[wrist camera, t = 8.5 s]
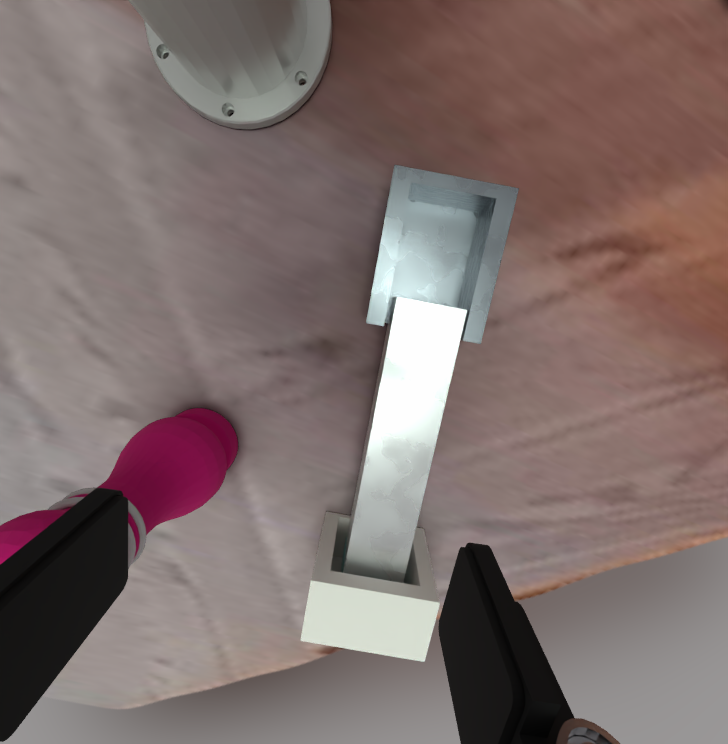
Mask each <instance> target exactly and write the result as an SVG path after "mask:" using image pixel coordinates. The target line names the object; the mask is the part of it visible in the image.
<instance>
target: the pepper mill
mask: <svg viewBox="0 0 728 744" xmlns="http://www.w3.org/2000/svg"><path fill="white" fill-rule="evenodd" d="M237 451H238V441H237V436H236V433H235V431H234V429H233V427H232V426H231V424H230V423H229V422H228V421H227V420H226V419H225V418H224V417H223V416H221V415H220V414H218V413H216V412H214V411H212V410H208V409H203V408H194V409H189V410H186V411H183V412H182V413H180V414H178V415H176V416H175V417H169V418H164V419H160V420H157V421H155V422H152V423H150V424H149V425H147V426H146V427H145V428H143V429H142V430H141V431H139V432H138V433H137V434H136V435H135V436H134V437H132V438H131V440H130V441H129V442H128V444H127V445H126V446H125V448H124V449H123V451H122V452H121V454H120V456H119V458H118V460H117V463H116V465H115V467H114V469H113V471H112V473H111V475H110V476H109V478H108V479H107V481H105V482H104V483H103V484H102V485H100V486H99V487H97V488H107V489H114V490H120V491H122V493H123V496H124V497H127V499H128V569H129V567H130V565H131V564H133V563H134V562H135V561H136V560H137V559H138V558H139V556H140V555H141V553H142V551H143V549H144V547H145V543H146V535H147V534H148V533H149V532H150V531H151V530H152V529H153V528H154V527H155V526H156V525H158V524H160V523H162V522H165V521H168V520H171V519H174V518H178V517H181V516H184V515H186V514H188V513H190V512H192V511H194V510H196V509H197V508H199V507H201V506H203V505H204V504H205V503H206V502H207V501H208V500H209V499H210V498H211V497H212V496H213V495H214V494H215V493H216V492H217V491H218V490H219V488H220V487H221V485H222V483H223V480H224V478H225V474H226V470H227V469H228V468H229V467H230V466H231V464H232V463H233V461H234V460H235V457H236V455H237ZM94 489H96V488H86V489H81V490H78V491H75V492H73V493H71V494H69V495H68V496H66V497H65V498H64V499H63V500H61V501H59V502H57V503H55V504H54V505H52V506H51V507H50V508H49V509H48V510H42V511H35V512H32V513H28V514H25V515H21V516H19V517H17V518H15V519H12V520H10V521H8V522H6V523H4V524H3V525H1V526H0V564H2V563H3V562H4V561H5V560H7V559H8V558H9V557H10V556H12V555H13V554H14V553H15V552H17V551H18V550H19V549H20V548H22V547H23V546H24V545H25V544H27V543H28V542H29V541H30V540H32V539H33V538H34V537H35V536H37V535H38V534H39V533H40V532H42V531H43V530H44V529H45V528H47V527H48V526H49V525H50V524H52V523H53V522H54V521H55V520H57V519H58V518H59V517H60V516H62V515H63V514H64V513H65V512H67V511H68V510H69V509H70V508H72V507H73V506H74V505H75V504H77V503H78V502H79V501H80V500H82V499H83V498H84V497H85V496H87V495H88V494H89V493H90V492H92V491H93V490H94Z"/></svg>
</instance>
